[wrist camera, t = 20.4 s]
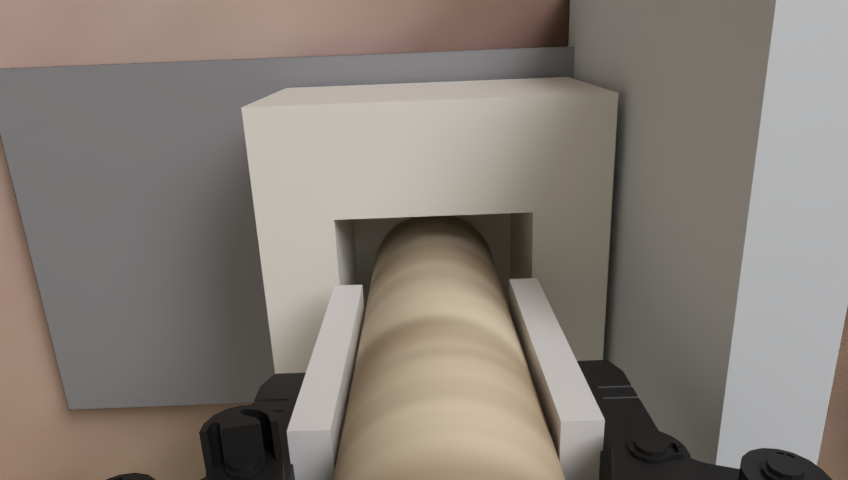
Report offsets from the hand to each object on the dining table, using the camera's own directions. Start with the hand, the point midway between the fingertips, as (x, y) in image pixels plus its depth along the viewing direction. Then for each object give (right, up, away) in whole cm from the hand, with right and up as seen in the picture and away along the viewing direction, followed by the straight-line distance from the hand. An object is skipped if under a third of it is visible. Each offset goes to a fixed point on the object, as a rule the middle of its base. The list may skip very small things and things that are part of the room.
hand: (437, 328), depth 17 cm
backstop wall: (-4, +3, +8) cm, 10 cm away
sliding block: (0, +2, +7) cm, 7 cm away
